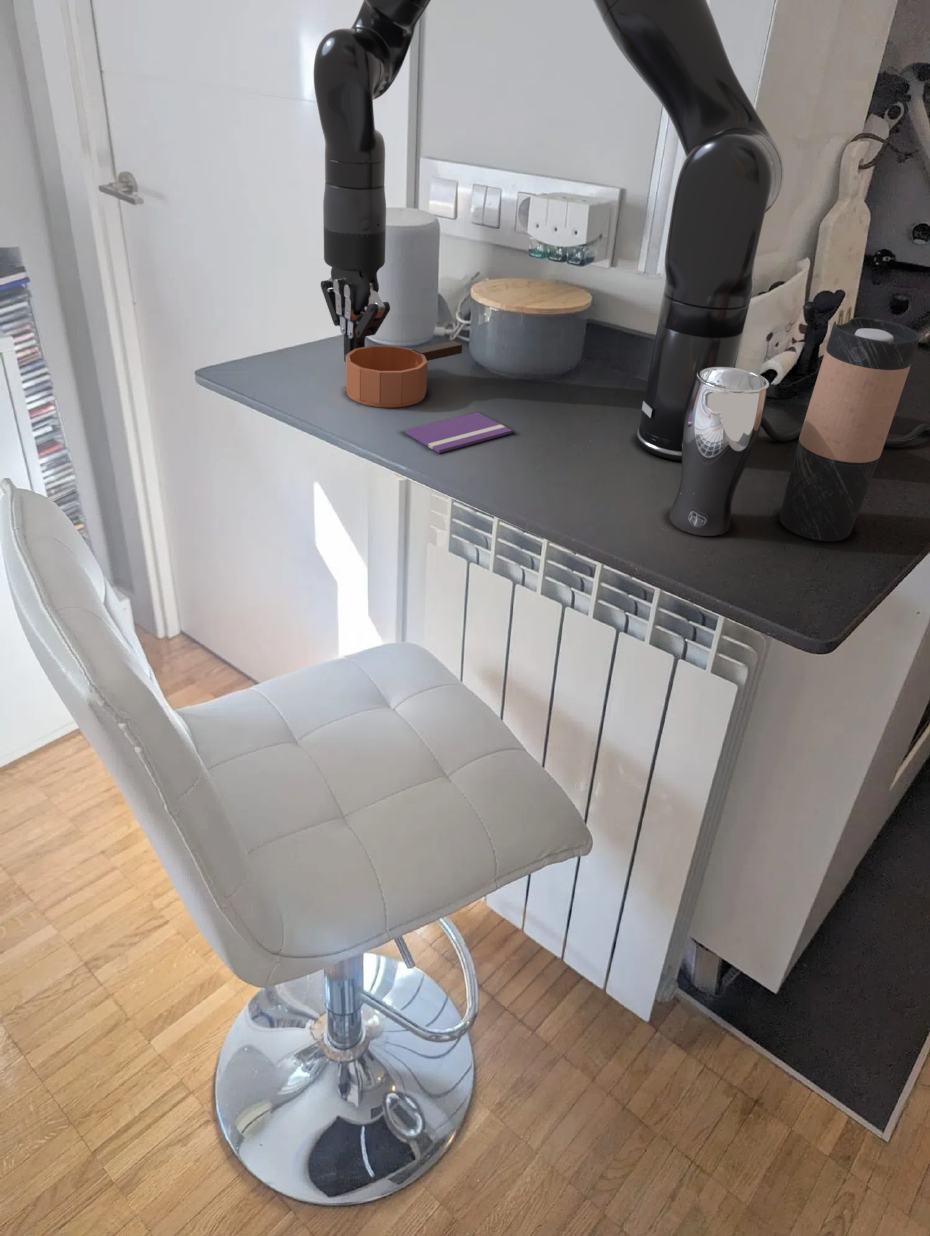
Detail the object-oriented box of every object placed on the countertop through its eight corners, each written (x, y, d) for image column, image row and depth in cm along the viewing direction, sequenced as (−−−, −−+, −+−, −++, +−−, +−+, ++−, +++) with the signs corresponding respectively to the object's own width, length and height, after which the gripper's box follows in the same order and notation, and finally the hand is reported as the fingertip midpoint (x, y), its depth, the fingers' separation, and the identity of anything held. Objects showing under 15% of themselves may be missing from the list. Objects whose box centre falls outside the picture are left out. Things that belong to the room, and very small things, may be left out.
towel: (477, 415, 112) (477, 412, 112) (512, 433, 108) (512, 430, 108) (405, 433, 106) (405, 430, 106) (439, 453, 102) (439, 450, 102)
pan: (432, 365, 126) (434, 332, 123) (480, 387, 120) (483, 353, 117) (331, 388, 116) (330, 352, 114) (377, 413, 110) (378, 376, 108)
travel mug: (858, 548, 90) (930, 347, 78) (779, 536, 91) (838, 336, 79) (847, 513, 96) (912, 322, 84) (773, 502, 97) (827, 312, 86)
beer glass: (682, 499, 96) (712, 360, 88) (744, 521, 93) (782, 378, 84) (652, 523, 91) (682, 377, 83) (717, 546, 88) (755, 398, 80)
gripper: (411, 233, 108) (406, 375, 118) (351, 210, 116) (350, 344, 126) (358, 238, 104) (357, 384, 114) (299, 214, 112) (303, 352, 122)
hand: (354, 363), depth 120 cm, fingers closed
